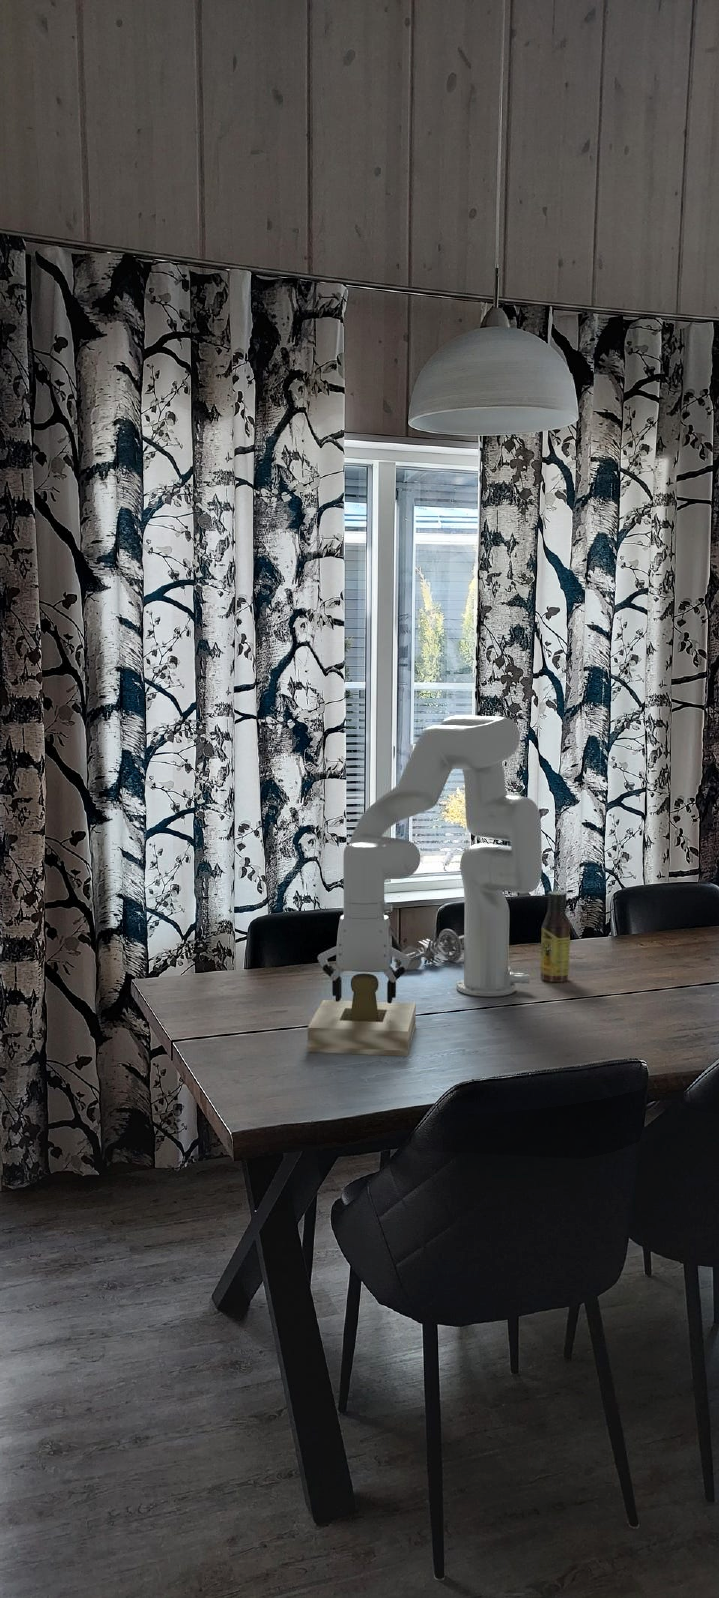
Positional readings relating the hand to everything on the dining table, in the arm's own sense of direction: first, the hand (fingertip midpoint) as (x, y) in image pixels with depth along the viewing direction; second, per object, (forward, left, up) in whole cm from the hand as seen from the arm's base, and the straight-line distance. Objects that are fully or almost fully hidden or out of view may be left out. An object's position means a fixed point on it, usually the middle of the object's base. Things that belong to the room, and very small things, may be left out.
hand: (364, 1000), depth 216 cm
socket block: (0, 0, -7) cm, 7 cm away
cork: (0, 0, -6) cm, 6 cm away
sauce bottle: (-37, -47, -7) cm, 60 cm away
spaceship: (-13, -61, -8) cm, 63 cm away
